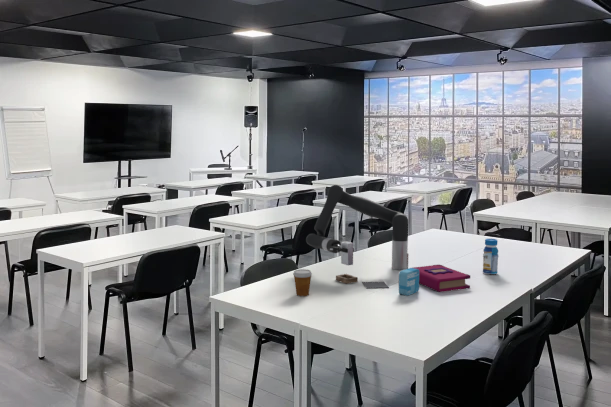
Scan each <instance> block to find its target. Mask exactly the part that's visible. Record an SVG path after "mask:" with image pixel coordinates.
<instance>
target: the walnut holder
mask: <svg viewBox="0 0 611 407" xmlns="http://www.w3.org/2000/svg"><path fill="white" fill-rule="evenodd" d="M335 281H337V282H339V283H340V282H341V283H343V284H346V285H349V284H353V283H358V276H354V275H351V274H348V273H344V274H343V273H342V274H338V275H335Z"/></svg>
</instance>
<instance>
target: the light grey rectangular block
mask: <svg viewBox="0 0 611 407" xmlns="http://www.w3.org/2000/svg"><path fill="white" fill-rule="evenodd" d="M340 243H341V247H343V248H346V249H348V253H345V252H340V264H342V265H345V266H354V252H353V248H354V242H351V241H347V240H346V241H340Z"/></svg>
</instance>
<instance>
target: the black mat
mask: <svg viewBox="0 0 611 407" xmlns="http://www.w3.org/2000/svg"><path fill="white" fill-rule="evenodd" d="M362 284H363V286H364V287H365V289H367V290H368V289H389V288H390V286H389V285H388V284H387V283H386V281H383V280H382V281H381V280H380V281H377V280H376V281H362Z"/></svg>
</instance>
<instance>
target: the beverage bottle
mask: <svg viewBox="0 0 611 407" xmlns="http://www.w3.org/2000/svg"><path fill="white" fill-rule="evenodd" d="M484 245H485V246H484V248H483V253H482V257H483V260H482V261H483V262H482V273H483V274H484V275H487V274H496V275H498V273H499V272H498V264H499V262H498V261H499V248H498V247H497V246H498V239H496V238H485V240H484Z"/></svg>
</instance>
